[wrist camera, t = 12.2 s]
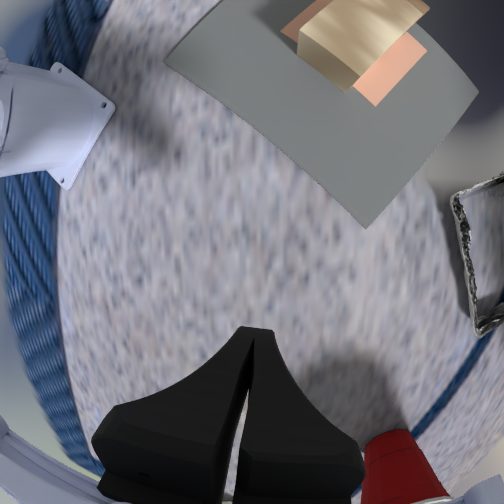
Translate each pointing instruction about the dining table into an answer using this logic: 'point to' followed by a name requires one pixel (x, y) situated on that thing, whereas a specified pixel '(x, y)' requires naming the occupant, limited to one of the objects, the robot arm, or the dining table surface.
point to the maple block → (355, 36)
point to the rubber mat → (328, 98)
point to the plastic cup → (399, 472)
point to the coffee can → (226, 502)
